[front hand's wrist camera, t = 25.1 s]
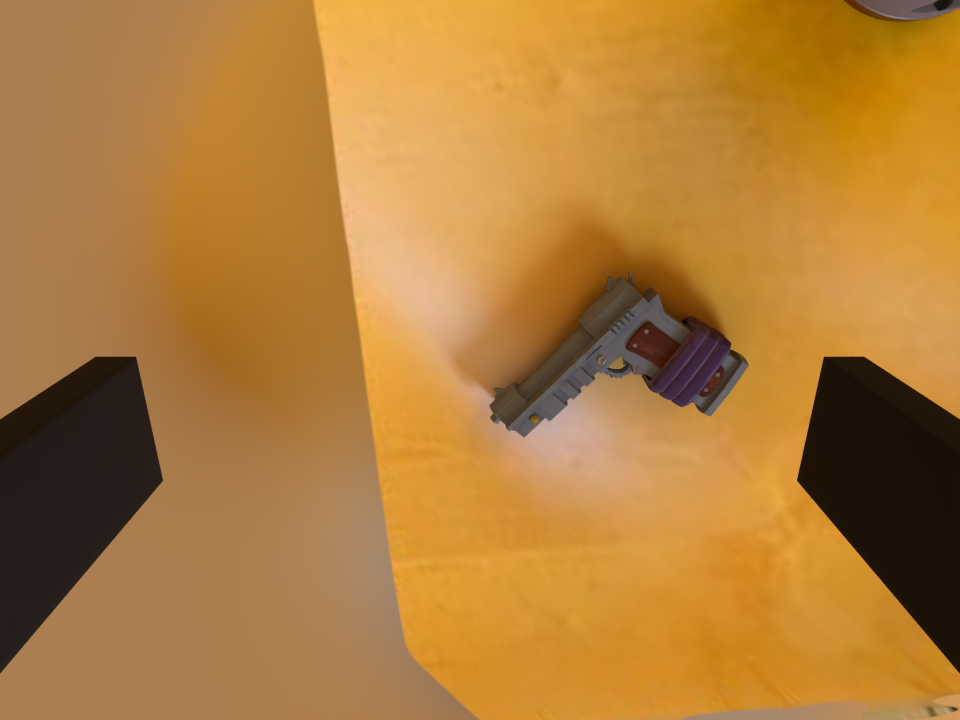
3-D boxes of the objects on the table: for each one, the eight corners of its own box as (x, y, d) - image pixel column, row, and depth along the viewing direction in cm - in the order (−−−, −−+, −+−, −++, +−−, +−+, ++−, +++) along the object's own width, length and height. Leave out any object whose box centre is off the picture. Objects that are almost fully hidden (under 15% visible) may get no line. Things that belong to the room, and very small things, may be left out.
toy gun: (592, 491, 61) (476, 396, 57) (746, 358, 55) (629, 243, 52) (599, 516, 57) (475, 415, 53) (764, 375, 52) (640, 253, 48)
